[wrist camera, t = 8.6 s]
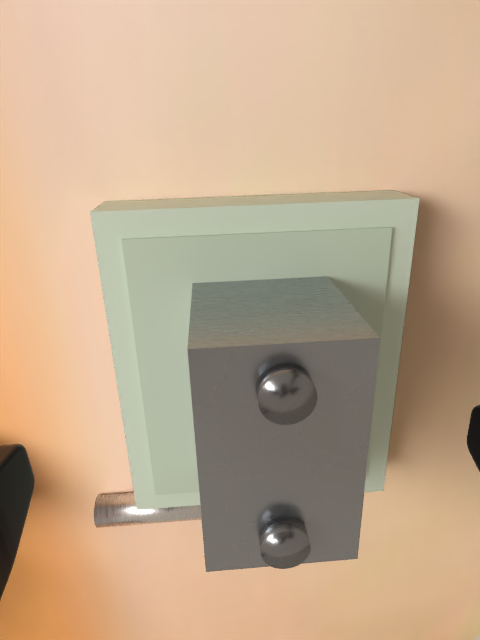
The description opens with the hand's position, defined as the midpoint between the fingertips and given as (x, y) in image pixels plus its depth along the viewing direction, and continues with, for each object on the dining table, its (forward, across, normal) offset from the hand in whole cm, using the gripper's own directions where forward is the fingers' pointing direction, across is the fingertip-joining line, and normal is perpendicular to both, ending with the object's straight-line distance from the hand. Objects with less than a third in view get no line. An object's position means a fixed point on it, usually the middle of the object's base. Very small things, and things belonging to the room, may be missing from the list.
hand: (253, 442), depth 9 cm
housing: (+9, -1, +4) cm, 10 cm away
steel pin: (+12, +4, +13) cm, 18 cm away
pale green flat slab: (+12, -1, +4) cm, 12 cm away
